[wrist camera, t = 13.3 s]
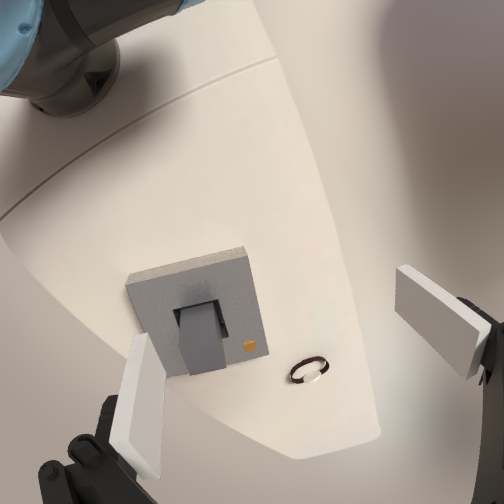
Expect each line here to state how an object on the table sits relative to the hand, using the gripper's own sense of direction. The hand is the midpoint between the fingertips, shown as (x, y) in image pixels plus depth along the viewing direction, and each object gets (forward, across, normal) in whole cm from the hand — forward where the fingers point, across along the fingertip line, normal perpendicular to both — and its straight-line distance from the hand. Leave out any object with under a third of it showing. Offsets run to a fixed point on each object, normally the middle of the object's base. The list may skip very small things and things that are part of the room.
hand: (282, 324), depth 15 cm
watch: (+32, +8, -34) cm, 48 cm away
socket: (+32, -8, -16) cm, 36 cm away
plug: (+31, -8, -16) cm, 36 cm away
